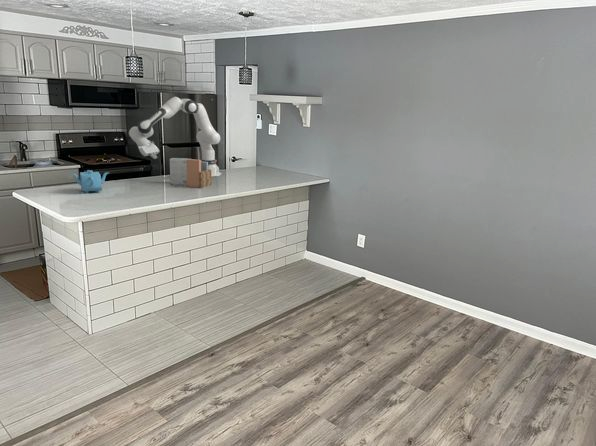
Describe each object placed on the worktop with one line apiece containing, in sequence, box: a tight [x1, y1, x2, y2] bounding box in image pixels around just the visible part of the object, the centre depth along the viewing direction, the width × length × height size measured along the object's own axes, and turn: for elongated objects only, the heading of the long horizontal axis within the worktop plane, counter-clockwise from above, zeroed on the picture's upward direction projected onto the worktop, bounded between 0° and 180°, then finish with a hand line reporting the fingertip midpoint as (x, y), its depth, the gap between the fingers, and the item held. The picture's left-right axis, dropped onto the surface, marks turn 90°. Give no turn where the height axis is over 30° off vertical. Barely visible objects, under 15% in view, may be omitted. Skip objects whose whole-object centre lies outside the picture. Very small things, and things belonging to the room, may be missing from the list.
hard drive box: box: [169, 157, 188, 186], centre depth 351 cm, size 16×8×20 cm, turn 84°
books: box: [186, 158, 208, 189], centre depth 348 cm, size 16×10×21 cm, turn 166°
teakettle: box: [70, 169, 109, 194], centre depth 310 cm, size 19×19×15 cm
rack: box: [199, 169, 213, 189], centre depth 348 cm, size 18×2×12 cm, turn 166°
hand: (155, 158), depth 354 cm, fingers closed
